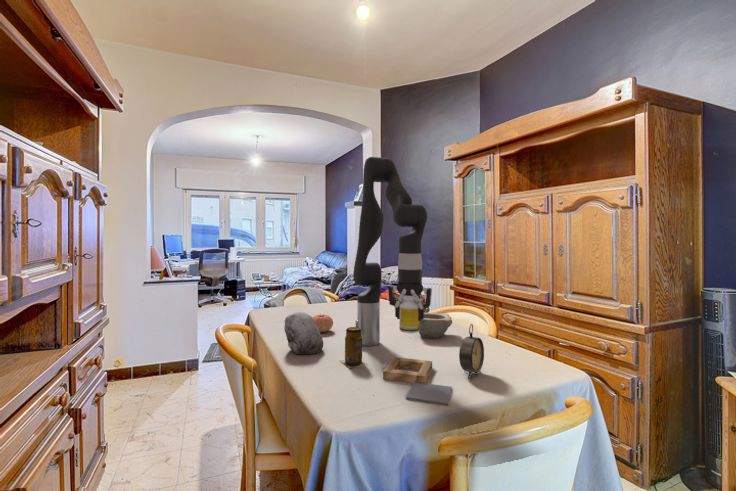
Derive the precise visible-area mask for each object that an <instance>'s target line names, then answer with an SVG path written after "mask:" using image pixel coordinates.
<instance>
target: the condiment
mask: <svg viewBox="0 0 736 491" xmlns="http://www.w3.org/2000/svg"><path fill="white" fill-rule="evenodd" d="M345 332H346V333H345V336H344V359H342V360H341V359H340V362H341V363H342V364H343V365H345V366H346V367H348V368H349V369H352V368H353V369H354V368H361V367H366V366H369V364H368V363H367V362H365V361H363V345H362V336H361V329H360V328H358V327H356V326H349V327H347V328H346V330H345Z"/></svg>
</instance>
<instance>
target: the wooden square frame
mask: <svg viewBox="0 0 736 491" xmlns="http://www.w3.org/2000/svg"><path fill="white" fill-rule="evenodd" d="M400 368H403V369H413V370H418V372H417V371H410V370H403V369H402V370H401V369H400ZM432 370H433V361H432V360H425V359H416V358H408V357H407V358H406V357H398V356H394V357H393V358H392V360H391V361H390V362H389V363H388V365H387V366H385V368H384V369H383V370H382V379H383V380H388V381H390V380H391V381H397V382H402V383H403V382H404V383H413V384H414V382H420V383H427V381H428V379H429V376H430V374H431V372H432Z"/></svg>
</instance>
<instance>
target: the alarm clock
mask: <svg viewBox="0 0 736 491" xmlns="http://www.w3.org/2000/svg"><path fill="white" fill-rule="evenodd" d="M473 331H474V324H473V323H471V324H470V325H469V328H468V333H469V336H466V337H464V338H463V339H462V341H461V343H460V347H459V351H458V352H459V353H458V357H459V358H458V359H459V364H460V367H461V369H462V370H463V371H464V373H465V372H468V377H467V379H468V380H470V379H471V377H472V373H473V374H478V373H480V372H481V371H482V368H483V365H484V360H485V349H484V348H485V347H484V343H483V340H482V339H481V337H478V336H477V337H476V336H473Z"/></svg>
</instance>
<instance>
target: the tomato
mask: <svg viewBox="0 0 736 491" xmlns="http://www.w3.org/2000/svg"><path fill="white" fill-rule="evenodd" d="M311 317H312V316H311ZM312 318H313V319H314V321H315V323H316V326H317V328H318V331H319V332H320V334H321V333H327V332H328V331H330V330H331V329H332V327H333V325H334V320H333V318H332V317H331V316H330V315H327V314H321V313H320V314H317V315H314V316H313V317H312Z"/></svg>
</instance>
